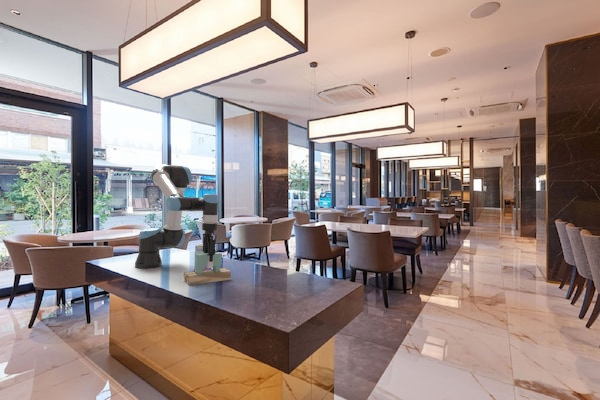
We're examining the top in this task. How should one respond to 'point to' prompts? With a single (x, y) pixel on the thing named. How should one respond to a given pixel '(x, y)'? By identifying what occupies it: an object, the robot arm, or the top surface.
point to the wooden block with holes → (207, 276)
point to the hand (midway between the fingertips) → (208, 266)
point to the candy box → (199, 251)
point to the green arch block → (202, 262)
